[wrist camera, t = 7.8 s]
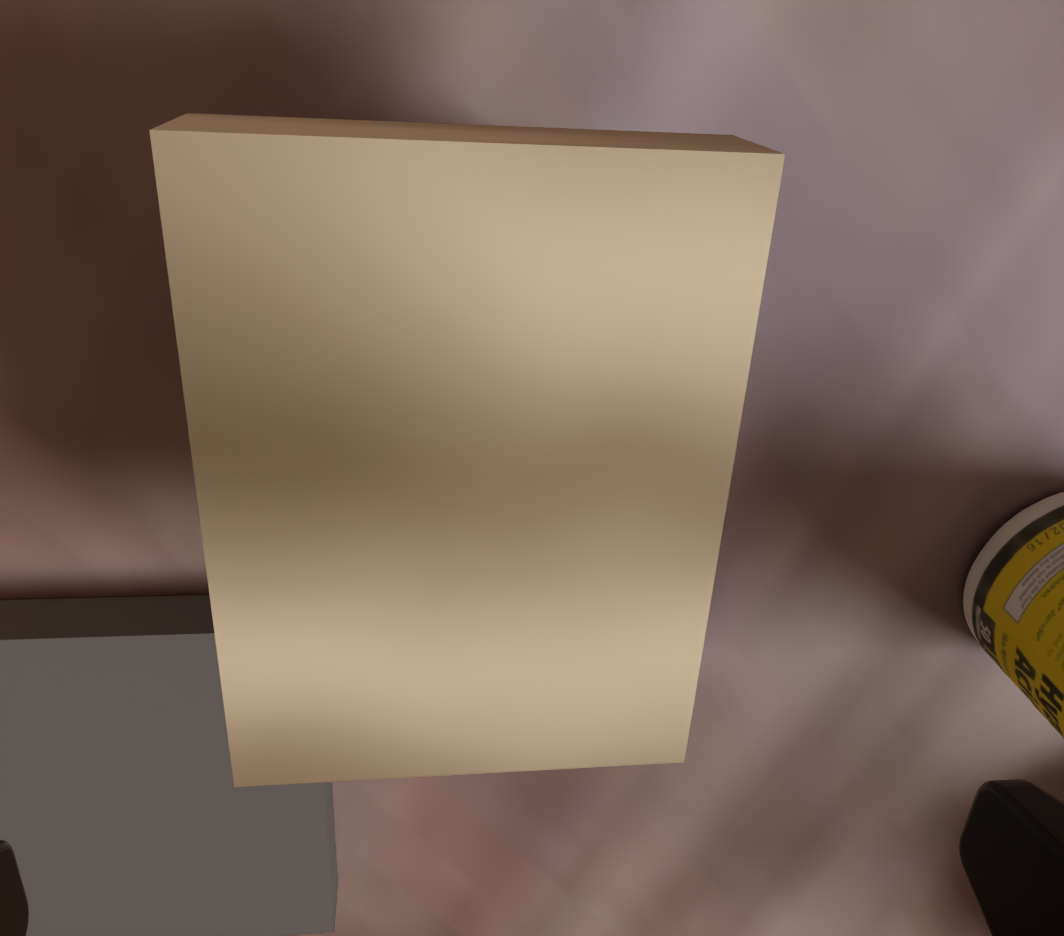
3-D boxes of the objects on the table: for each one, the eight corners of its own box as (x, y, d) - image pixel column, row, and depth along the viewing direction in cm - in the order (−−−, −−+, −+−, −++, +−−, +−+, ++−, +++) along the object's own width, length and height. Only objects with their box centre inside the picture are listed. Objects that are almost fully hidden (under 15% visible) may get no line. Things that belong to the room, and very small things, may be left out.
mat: (338, 884, 26) (334, 932, 24) (-40, 910, 24) (-65, 962, 23) (320, 591, 21) (314, 629, 20) (-142, 603, 20) (-181, 645, 19)
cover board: (655, 685, 17) (683, 762, 16) (252, 703, 16) (234, 787, 15) (732, 135, 13) (785, 153, 11) (187, 112, 12) (149, 130, 10)
